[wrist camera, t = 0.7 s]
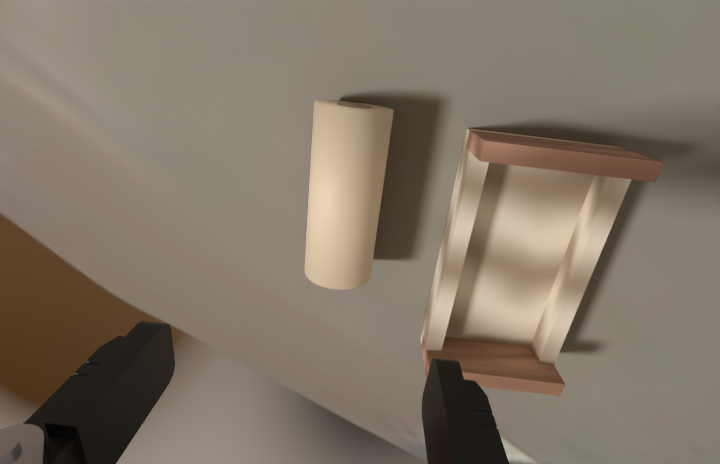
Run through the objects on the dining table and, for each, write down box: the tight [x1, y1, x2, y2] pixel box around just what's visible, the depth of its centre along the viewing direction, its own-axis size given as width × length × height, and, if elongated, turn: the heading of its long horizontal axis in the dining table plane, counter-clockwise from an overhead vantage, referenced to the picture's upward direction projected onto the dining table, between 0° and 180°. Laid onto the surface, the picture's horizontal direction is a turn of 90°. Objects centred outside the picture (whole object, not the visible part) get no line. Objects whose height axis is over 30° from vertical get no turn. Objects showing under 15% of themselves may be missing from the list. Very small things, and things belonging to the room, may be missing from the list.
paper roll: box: [305, 100, 394, 290], centre depth 26 cm, size 12×5×5 cm, turn 174°
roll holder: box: [420, 128, 664, 396], centre depth 28 cm, size 18×10×5 cm, turn 174°
